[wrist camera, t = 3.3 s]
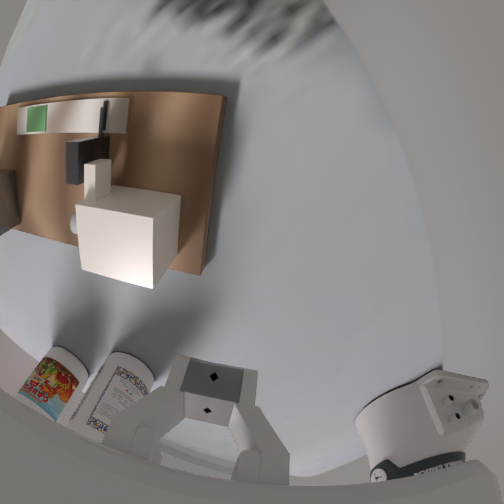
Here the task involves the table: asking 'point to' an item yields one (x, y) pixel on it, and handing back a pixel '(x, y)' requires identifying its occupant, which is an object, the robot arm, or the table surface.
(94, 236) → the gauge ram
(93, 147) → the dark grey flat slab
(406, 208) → the table surface
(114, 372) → the bath foam
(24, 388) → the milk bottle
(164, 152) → the wooden tray
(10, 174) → the dark grey cube
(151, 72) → the table surface
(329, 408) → the table surface
